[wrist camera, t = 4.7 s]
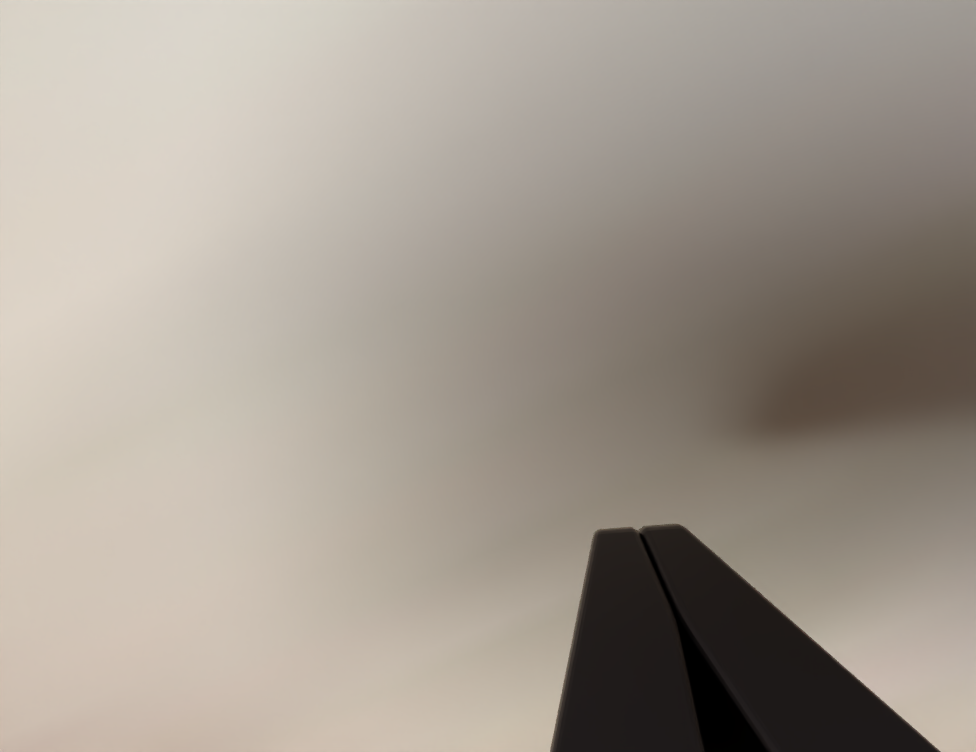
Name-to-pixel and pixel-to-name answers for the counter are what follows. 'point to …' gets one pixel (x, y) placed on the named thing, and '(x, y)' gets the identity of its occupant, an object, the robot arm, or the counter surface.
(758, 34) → the counter surface
